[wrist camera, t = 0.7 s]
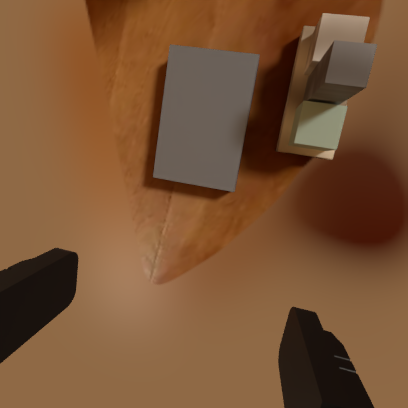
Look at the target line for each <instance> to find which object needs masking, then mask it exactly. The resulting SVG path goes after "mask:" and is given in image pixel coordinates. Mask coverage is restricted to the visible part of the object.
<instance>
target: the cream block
mask: <svg viewBox="0 0 408 408" xmlns="http://www.w3.org/2000/svg"><path fill="white" fill-rule="evenodd" d="M369 18H370V17H361V16H350V15H338V14H327V13H323V14H322V16H321V18H320V20H319V22H318V24H317V26H316V28H315V30H314V32H313V34H312V38H311V43H310V47H309V52H308V56H307V61H306V66H305V70H304V75H310V74H311V73H312V71H313V70H314V68H315V67H316V66H317V64H318V63H319V61H320V60H321V58H322V57H323V56H324V54H325V53H326V51H327V50H328V49H329V47H330V46H331V44H332V43H333V42H334V40H338V41H348V42H358V43H363V42H364V38H365V34H366V30H367V26H368V22H369Z"/></svg>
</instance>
